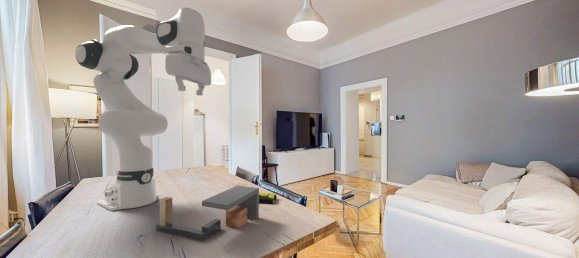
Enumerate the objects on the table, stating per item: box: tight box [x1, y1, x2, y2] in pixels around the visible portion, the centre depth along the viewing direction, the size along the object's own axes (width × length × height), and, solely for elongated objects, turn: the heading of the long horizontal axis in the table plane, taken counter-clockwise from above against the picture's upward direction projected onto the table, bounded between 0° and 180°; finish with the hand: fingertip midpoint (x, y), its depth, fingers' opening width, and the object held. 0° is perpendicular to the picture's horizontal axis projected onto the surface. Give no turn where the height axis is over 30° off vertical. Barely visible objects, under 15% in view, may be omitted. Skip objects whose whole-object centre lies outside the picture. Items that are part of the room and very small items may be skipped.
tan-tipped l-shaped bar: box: [155, 196, 222, 243], centre depth 66 cm, size 18×8×10 cm, turn 70°
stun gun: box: [259, 192, 277, 205], centre depth 90 cm, size 3×19×15 cm
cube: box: [225, 206, 248, 229], centre depth 70 cm, size 5×5×5 cm
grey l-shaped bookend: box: [201, 185, 260, 220], centre depth 68 cm, size 9×18×10 cm, turn 160°
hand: (191, 93), depth 77 cm, fingers open, 8 cm apart
